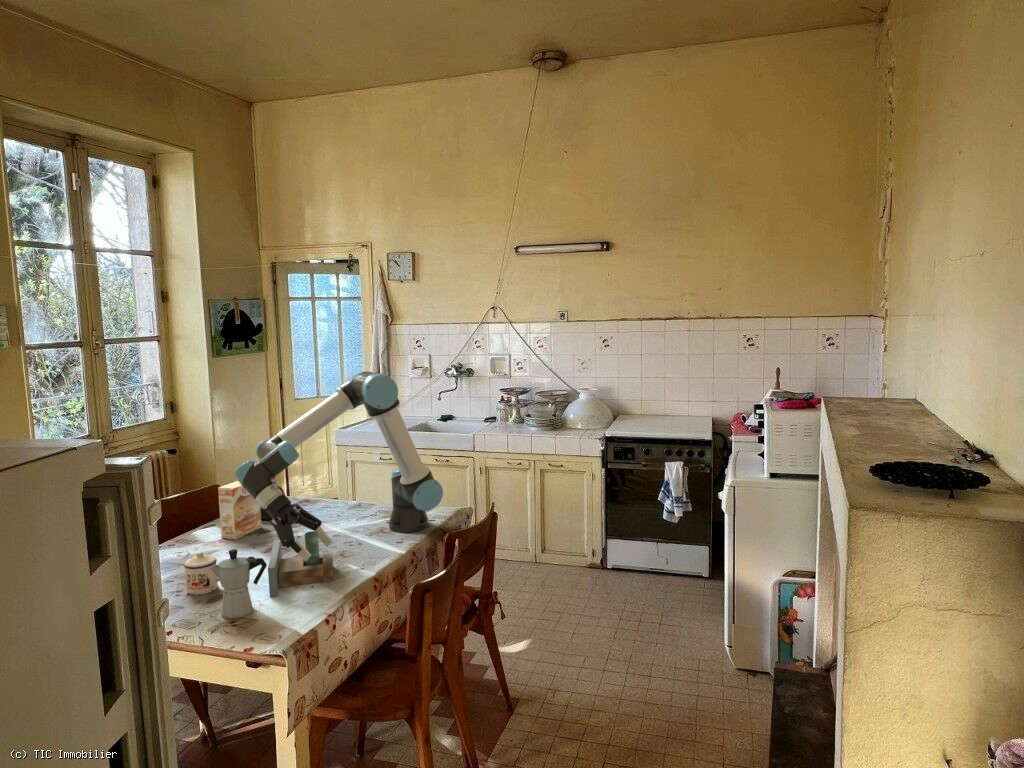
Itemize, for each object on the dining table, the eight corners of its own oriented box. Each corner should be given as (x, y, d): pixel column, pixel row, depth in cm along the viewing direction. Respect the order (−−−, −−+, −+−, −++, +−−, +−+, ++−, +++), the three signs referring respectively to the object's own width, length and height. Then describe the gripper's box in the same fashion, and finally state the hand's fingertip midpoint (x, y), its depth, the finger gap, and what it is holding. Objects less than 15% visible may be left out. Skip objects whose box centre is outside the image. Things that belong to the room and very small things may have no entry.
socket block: (333, 566, 225) (332, 553, 224) (333, 580, 213) (332, 566, 213) (281, 572, 221) (281, 558, 220) (279, 586, 209) (278, 572, 209)
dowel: (320, 572, 220) (318, 530, 218) (320, 577, 216) (317, 534, 215) (307, 574, 219) (304, 531, 217) (307, 579, 215) (304, 535, 214)
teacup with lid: (181, 596, 204) (178, 558, 203) (192, 584, 213) (189, 548, 212) (222, 593, 206) (220, 556, 204) (232, 581, 215) (229, 545, 213)
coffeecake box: (236, 540, 254) (232, 488, 252) (220, 538, 256) (216, 487, 254) (262, 527, 268) (259, 478, 266) (247, 525, 271) (244, 477, 268)
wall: (282, 565, 227) (280, 539, 226) (277, 596, 202) (275, 567, 201) (276, 566, 227) (274, 539, 226) (269, 597, 202) (267, 568, 201)
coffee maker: (212, 622, 186) (207, 559, 184) (212, 610, 194) (208, 548, 192) (270, 612, 192) (266, 550, 190) (268, 600, 200) (264, 540, 198)
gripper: (257, 504, 205) (305, 557, 203) (302, 484, 229) (345, 530, 227) (243, 521, 207) (290, 573, 205) (289, 498, 231) (332, 545, 229)
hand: (319, 551), depth 216 cm, fingers open, 12 cm apart
